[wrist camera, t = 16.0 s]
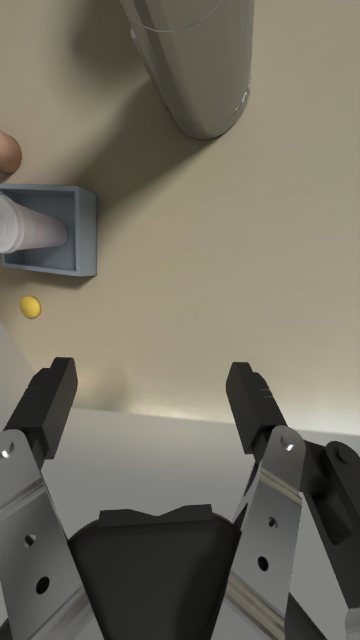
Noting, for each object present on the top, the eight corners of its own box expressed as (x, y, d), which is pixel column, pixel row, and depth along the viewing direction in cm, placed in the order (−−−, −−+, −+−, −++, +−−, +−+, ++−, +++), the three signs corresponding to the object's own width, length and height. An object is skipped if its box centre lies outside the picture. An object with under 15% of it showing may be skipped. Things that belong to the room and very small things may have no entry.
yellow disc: (20, 309, 41) (17, 310, 41) (26, 292, 40) (23, 292, 40) (37, 321, 41) (34, 321, 40) (43, 303, 40) (40, 304, 39)
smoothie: (51, 262, 37) (-54, 262, 24) (32, 222, 36) (-87, 200, 23) (82, 244, 35) (-13, 234, 22) (63, 202, 34) (-48, 165, 21)
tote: (24, 266, 39) (1, 266, 35) (19, 191, 36) (-6, 183, 32) (96, 275, 36) (80, 276, 33) (97, 194, 34) (78, 185, 30)
